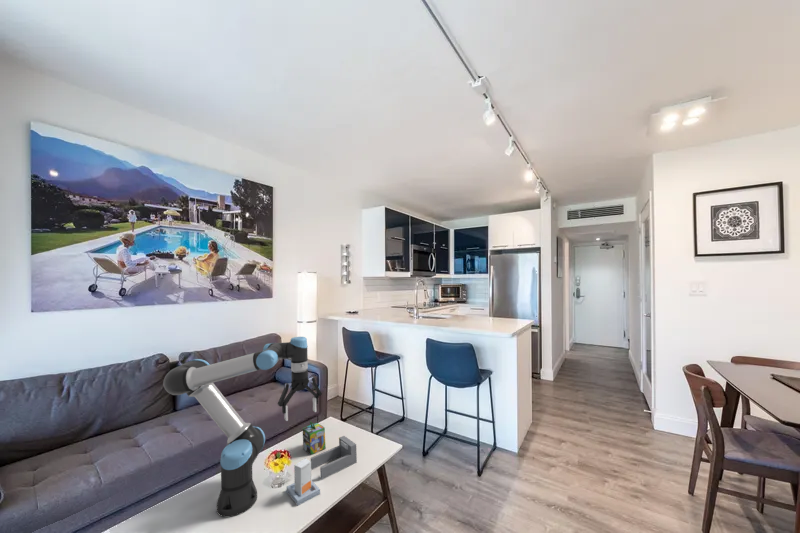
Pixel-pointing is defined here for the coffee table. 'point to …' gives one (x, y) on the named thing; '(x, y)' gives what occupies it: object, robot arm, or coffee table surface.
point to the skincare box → (302, 477)
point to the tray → (306, 496)
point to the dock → (344, 450)
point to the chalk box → (313, 438)
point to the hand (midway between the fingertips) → (300, 415)
